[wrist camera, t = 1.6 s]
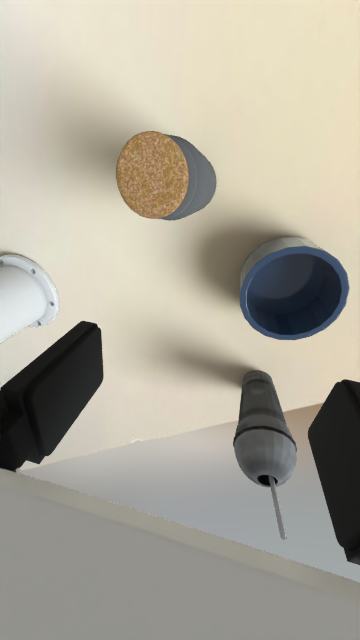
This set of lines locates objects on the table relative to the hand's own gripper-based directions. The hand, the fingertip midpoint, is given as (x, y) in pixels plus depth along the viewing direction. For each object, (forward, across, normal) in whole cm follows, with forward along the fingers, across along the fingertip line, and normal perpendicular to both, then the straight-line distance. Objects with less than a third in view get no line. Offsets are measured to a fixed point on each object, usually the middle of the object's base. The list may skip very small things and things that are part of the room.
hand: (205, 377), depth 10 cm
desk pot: (+24, -8, +2) cm, 25 cm away
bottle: (+24, +6, -7) cm, 26 cm away
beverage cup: (+24, -9, +20) cm, 32 cm away
